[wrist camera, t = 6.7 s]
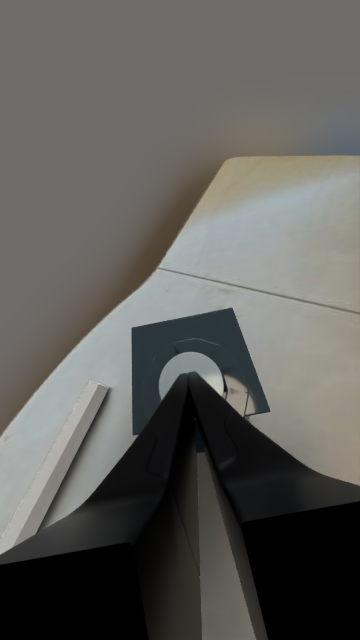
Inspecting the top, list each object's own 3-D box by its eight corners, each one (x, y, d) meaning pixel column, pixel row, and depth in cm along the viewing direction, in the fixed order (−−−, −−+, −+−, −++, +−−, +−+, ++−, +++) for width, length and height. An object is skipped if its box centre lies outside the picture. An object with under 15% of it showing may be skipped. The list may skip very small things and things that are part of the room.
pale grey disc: (227, 414, 10) (232, 414, 8) (169, 424, 10) (161, 427, 8) (213, 356, 11) (214, 346, 10) (163, 366, 12) (155, 357, 10)
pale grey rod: (1, 592, 13) (105, 384, 20) (2, 624, 12) (113, 389, 18) (-47, 610, 12) (83, 377, 18) (-53, 650, 10) (91, 382, 17)
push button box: (253, 426, 15) (292, 437, 8) (157, 442, 16) (119, 466, 9) (225, 335, 20) (235, 294, 13) (151, 350, 20) (122, 317, 13)
